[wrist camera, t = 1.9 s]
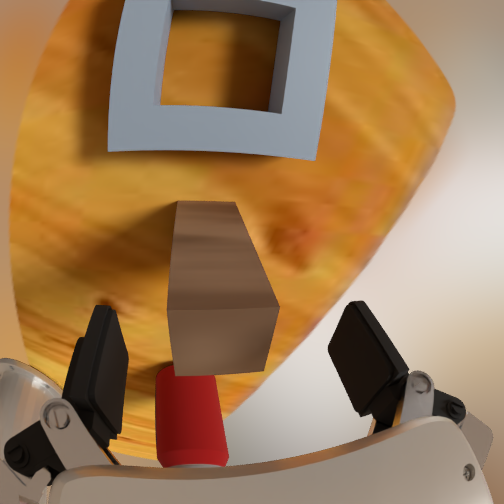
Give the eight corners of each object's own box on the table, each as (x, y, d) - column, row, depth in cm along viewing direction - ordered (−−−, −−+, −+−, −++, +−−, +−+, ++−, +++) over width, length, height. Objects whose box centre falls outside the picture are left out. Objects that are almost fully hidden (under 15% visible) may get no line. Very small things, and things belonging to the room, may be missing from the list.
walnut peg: (230, 251, 21) (263, 371, 12) (177, 251, 20) (175, 376, 11) (235, 202, 19) (279, 306, 10) (177, 200, 18) (166, 310, 9)
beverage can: (146, 380, 27) (147, 475, 17) (172, 350, 25) (178, 462, 15) (196, 395, 30) (207, 482, 20) (226, 368, 28) (247, 467, 18)
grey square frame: (297, 152, 18) (315, 161, 16) (121, 144, 15) (108, 151, 13) (318, 2, 12) (337, -10, 10) (143, -17, 9) (135, -35, 7)
